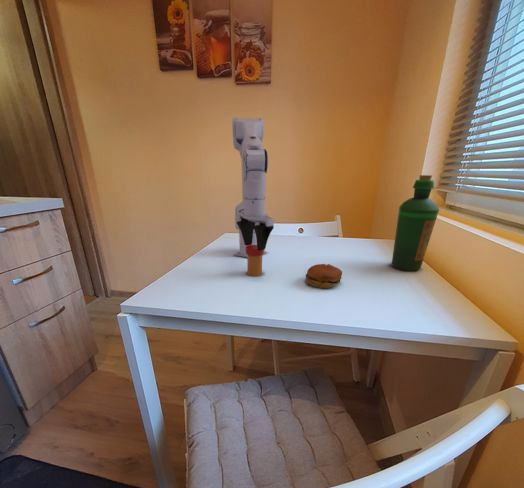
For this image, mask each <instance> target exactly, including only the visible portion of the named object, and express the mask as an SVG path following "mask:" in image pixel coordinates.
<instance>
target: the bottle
mask: <svg viewBox="0 0 524 488" xmlns="http://www.w3.org/2000/svg"><path fill="white" fill-rule="evenodd" d="M432 178H433V175H430V174H429V175H428V174H420V175H419V179H416V180H415V181H414V184H413V186H412V189H413V190H414V191H413V197H411V198H408V199H406V200H405V201H403V202H402V203H401V204H400V206H398V207H399V208H398V215H397V221H396V228H395V235H394V242H393V243H394V244H393V252H392V257H391V266H392V267H394V268H396V269H397V270H400V271H406V272H407V271H408V272H413V271H419V270H421V269H422V265H423V262H424V259H425V256H426V253H427V249H428V246H429V243H430V240H431V237H432V233H433V231H434V227H435V224H436V221H437V218H438V216H439V215H438V214H439V212H440V209H439V206H438V204H437V203H436V202H435V201H434V200H433V199H431V198H430V196H431V192H432V190H434V189H435V180H434V179H432Z"/></svg>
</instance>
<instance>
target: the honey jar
mask: <svg viewBox="0 0 524 488" xmlns="http://www.w3.org/2000/svg"><path fill="white" fill-rule="evenodd" d="M246 259H247V260H246V262H247V263H246V264H247V265H246V266H247V268H246V269H247V271H246V272H247V275H248V276H251V277H259V276H261V275H263V254H262V255H259V256H251V255H247V257H246Z"/></svg>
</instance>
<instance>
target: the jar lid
mask: <svg viewBox="0 0 524 488" xmlns="http://www.w3.org/2000/svg"><path fill="white" fill-rule="evenodd" d="M264 251H265V250H261V251H259V250H258V248H257V245H248V246H246V254H247V255H251V256H259V255H262V256H263V255H264V254H265V253H264Z"/></svg>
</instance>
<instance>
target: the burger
mask: <svg viewBox="0 0 524 488" xmlns="http://www.w3.org/2000/svg"><path fill="white" fill-rule="evenodd" d="M342 276H343V271H342V269H340V268H339V267H338V266H334V265H332V264H330V263H327V264H326V263H319V264H314V265H312V266H310V267H309V268H308V269H307V271H306V273H305V279H306V283H307V284H308V285H309V286H312V287H315V288H319V289H330V288H333V287H335V286H336V285H338V284H339V283H341V280H342Z"/></svg>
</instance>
